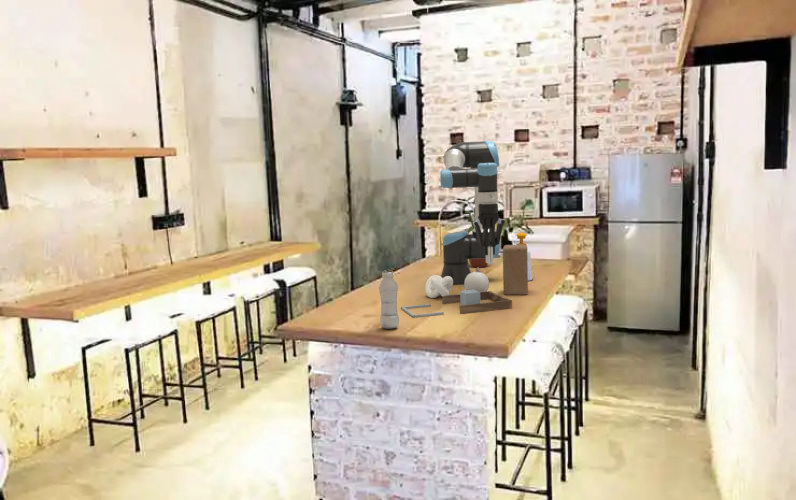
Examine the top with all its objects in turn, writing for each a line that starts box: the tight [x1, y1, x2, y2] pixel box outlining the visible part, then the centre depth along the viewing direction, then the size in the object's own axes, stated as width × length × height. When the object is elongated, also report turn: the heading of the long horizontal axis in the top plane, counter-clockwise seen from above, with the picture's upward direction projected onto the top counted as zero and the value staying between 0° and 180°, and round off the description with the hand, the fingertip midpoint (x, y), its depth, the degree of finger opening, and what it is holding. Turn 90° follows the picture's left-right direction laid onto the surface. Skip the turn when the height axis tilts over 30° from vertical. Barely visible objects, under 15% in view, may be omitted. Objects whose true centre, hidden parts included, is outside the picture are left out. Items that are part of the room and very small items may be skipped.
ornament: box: [463, 267, 490, 292], centre depth 274 cm, size 10×10×12 cm
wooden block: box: [502, 244, 529, 296], centre depth 276 cm, size 10×10×20 cm
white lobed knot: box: [424, 274, 454, 299], centre depth 274 cm, size 11×12×9 cm
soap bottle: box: [515, 231, 533, 282], centre depth 307 cm, size 10×14×22 cm
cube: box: [459, 289, 481, 306], centre depth 255 cm, size 6×6×6 cm
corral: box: [400, 303, 445, 319], centre depth 250 cm, size 16×12×1 cm
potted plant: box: [466, 206, 488, 268], centre depth 346 cm, size 17×16×35 cm
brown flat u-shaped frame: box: [441, 290, 513, 315], centre depth 256 cm, size 20×21×3 cm
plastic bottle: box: [378, 270, 400, 330], centre depth 226 cm, size 6×7×20 cm
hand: (489, 263), depth 256 cm, fingers closed
